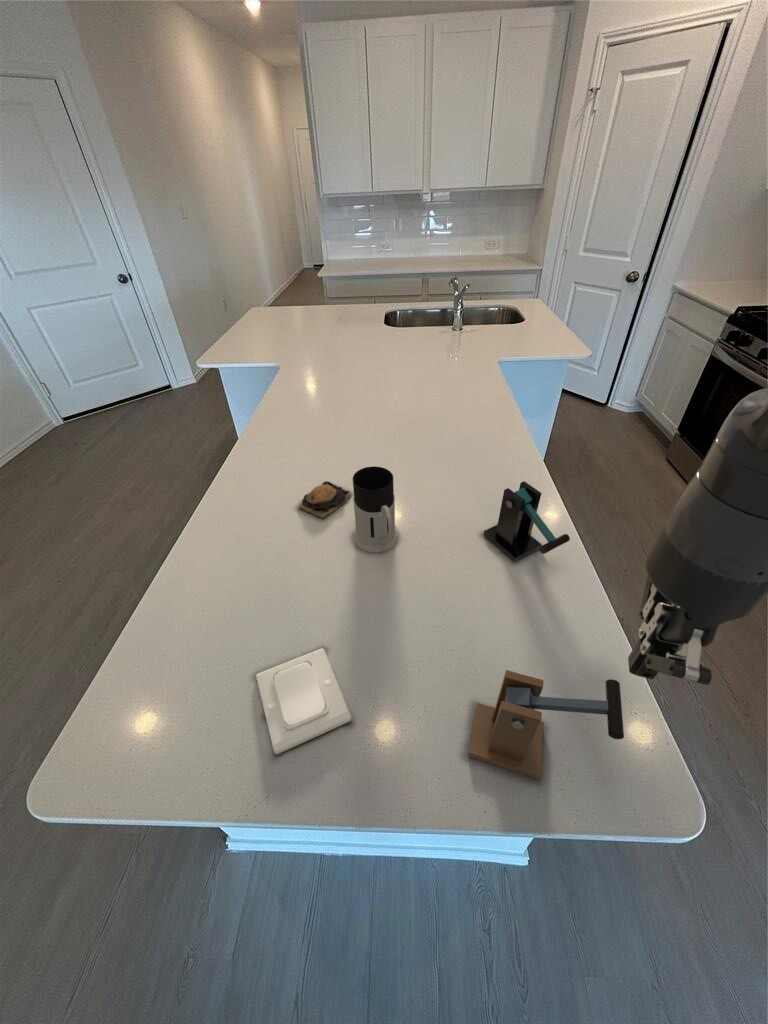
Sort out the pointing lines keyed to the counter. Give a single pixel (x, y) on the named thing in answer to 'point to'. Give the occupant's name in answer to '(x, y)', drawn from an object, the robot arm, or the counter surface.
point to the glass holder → (374, 509)
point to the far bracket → (515, 525)
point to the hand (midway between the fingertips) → (639, 669)
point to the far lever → (541, 525)
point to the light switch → (301, 700)
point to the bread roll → (324, 499)
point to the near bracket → (510, 730)
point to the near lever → (576, 705)
